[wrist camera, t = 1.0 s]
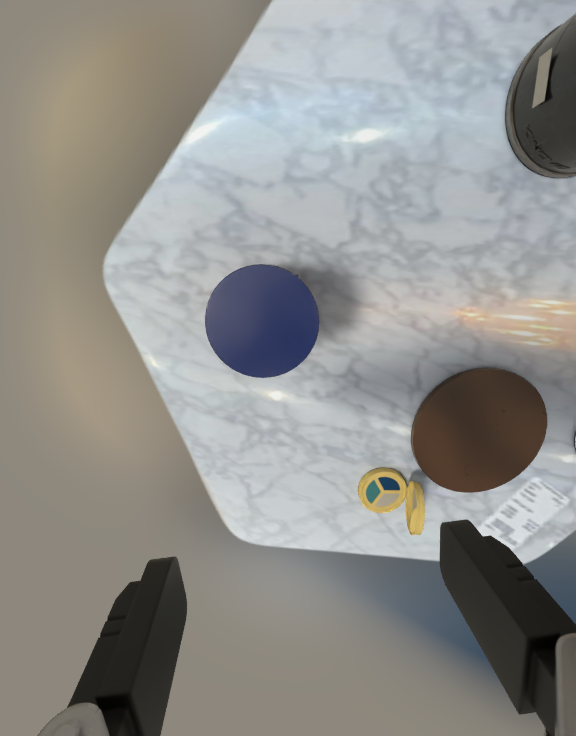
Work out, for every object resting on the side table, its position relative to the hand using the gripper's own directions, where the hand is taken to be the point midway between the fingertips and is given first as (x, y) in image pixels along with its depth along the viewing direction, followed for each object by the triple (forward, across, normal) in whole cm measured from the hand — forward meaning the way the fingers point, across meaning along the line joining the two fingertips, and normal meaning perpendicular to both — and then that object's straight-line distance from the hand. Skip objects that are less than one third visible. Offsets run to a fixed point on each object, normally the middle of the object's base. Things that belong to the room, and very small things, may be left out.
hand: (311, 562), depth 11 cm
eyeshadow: (+20, -8, +12) cm, 25 cm away
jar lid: (+10, +1, -6) cm, 11 cm away
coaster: (+20, -17, +8) cm, 27 cm away
